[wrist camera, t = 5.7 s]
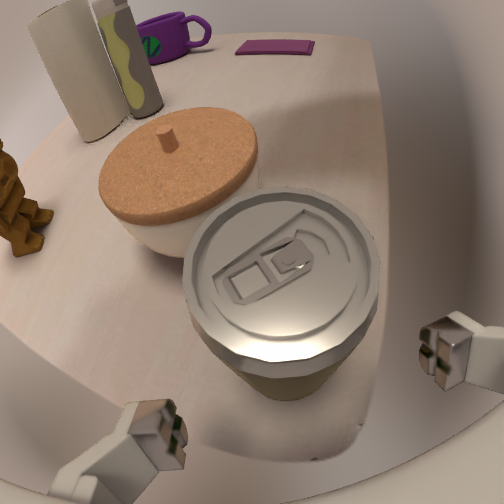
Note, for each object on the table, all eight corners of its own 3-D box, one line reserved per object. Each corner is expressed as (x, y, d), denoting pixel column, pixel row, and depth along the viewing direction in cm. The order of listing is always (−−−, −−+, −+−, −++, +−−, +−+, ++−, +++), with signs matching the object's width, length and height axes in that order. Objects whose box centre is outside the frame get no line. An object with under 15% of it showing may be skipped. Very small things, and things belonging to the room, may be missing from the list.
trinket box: (188, 311, 20) (123, 231, 12) (123, 229, 25) (70, 151, 17) (296, 218, 23) (293, 115, 15) (213, 162, 28) (189, 78, 20)
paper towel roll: (77, 146, 35) (18, 29, 17) (95, 122, 38) (46, 13, 20) (114, 138, 34) (55, 4, 16) (131, 113, 37) (84, -8, 19)
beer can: (270, 417, 15) (234, 418, 5) (228, 345, 18) (148, 235, 8) (347, 370, 16) (430, 285, 6) (300, 304, 19) (306, 158, 9)
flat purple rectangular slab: (314, 42, 46) (314, 39, 46) (310, 55, 42) (310, 52, 41) (247, 42, 50) (247, 39, 49) (235, 55, 45) (234, 52, 45)
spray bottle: (141, 104, 39) (101, -6, 22) (168, 99, 38) (131, -19, 21) (127, 121, 36) (79, 3, 19) (155, 117, 35) (110, -12, 18)
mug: (134, 70, 50) (121, 32, 42) (161, 51, 56) (151, 17, 47) (204, 60, 46) (193, 15, 37) (226, 43, 51) (218, 4, 43)
